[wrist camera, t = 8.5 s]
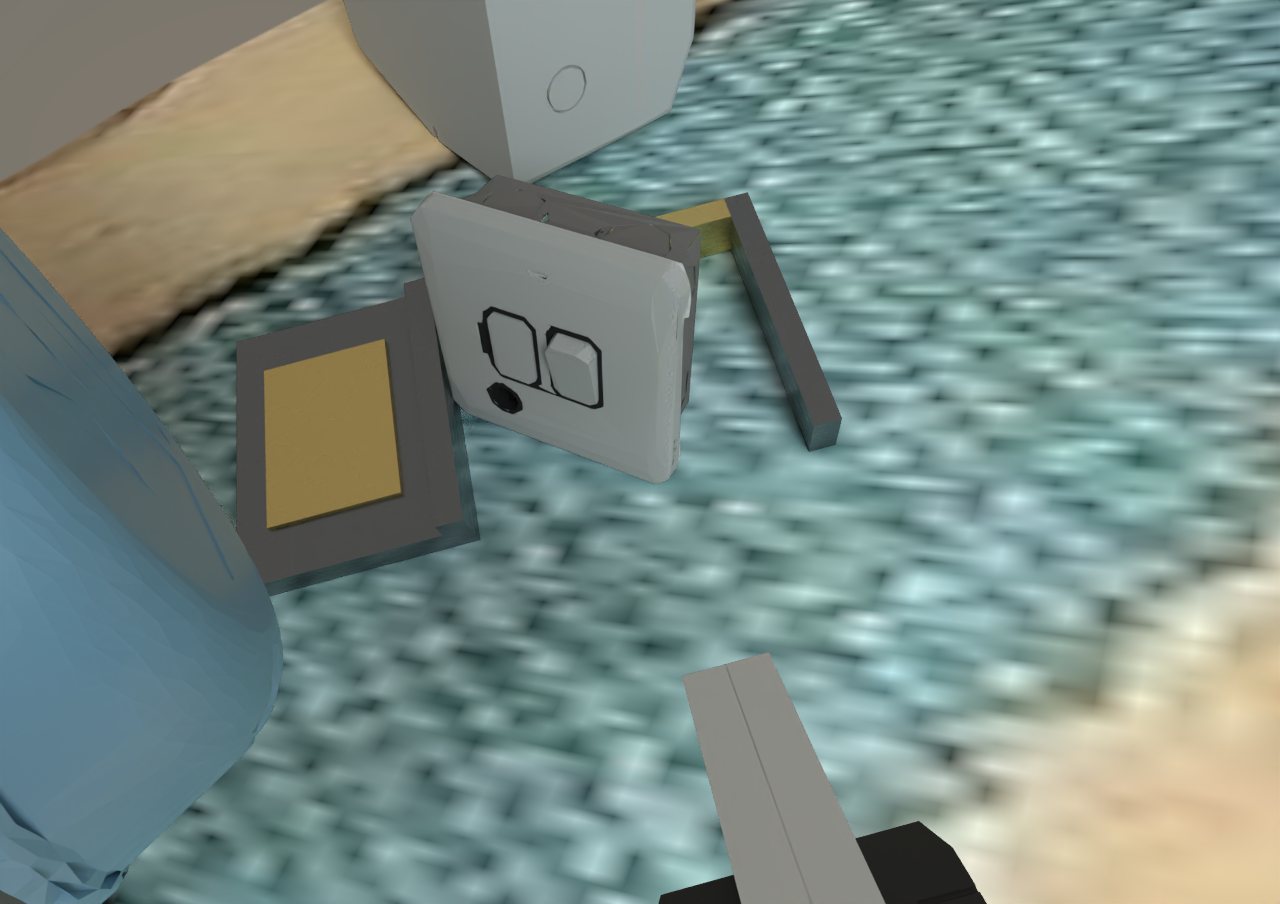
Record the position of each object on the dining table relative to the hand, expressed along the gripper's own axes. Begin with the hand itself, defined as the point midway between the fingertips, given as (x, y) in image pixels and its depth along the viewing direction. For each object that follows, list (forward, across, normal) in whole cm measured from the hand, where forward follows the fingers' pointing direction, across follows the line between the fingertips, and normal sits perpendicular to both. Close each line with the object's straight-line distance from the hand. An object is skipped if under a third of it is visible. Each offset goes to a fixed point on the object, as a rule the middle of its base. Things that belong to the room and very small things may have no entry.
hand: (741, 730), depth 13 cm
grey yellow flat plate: (+20, -4, +2) cm, 20 cm away
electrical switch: (+20, -2, +2) cm, 20 cm away
